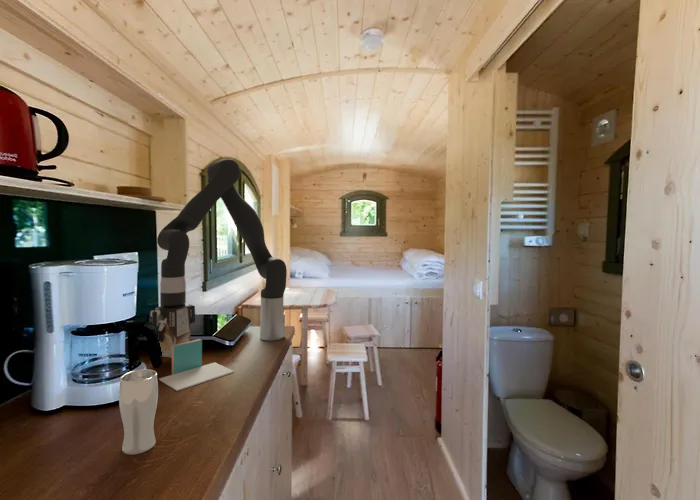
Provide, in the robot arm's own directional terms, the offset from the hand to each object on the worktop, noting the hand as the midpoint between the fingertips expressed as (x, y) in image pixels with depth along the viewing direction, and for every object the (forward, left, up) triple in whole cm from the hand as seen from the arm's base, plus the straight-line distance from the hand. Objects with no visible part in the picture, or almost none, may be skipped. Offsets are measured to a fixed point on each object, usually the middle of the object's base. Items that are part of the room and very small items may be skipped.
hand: (173, 338), depth 121 cm
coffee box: (0, 0, -5) cm, 5 cm away
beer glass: (+26, +41, -8) cm, 49 cm away
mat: (0, +16, -8) cm, 18 cm away
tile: (0, +10, -8) cm, 12 cm away
